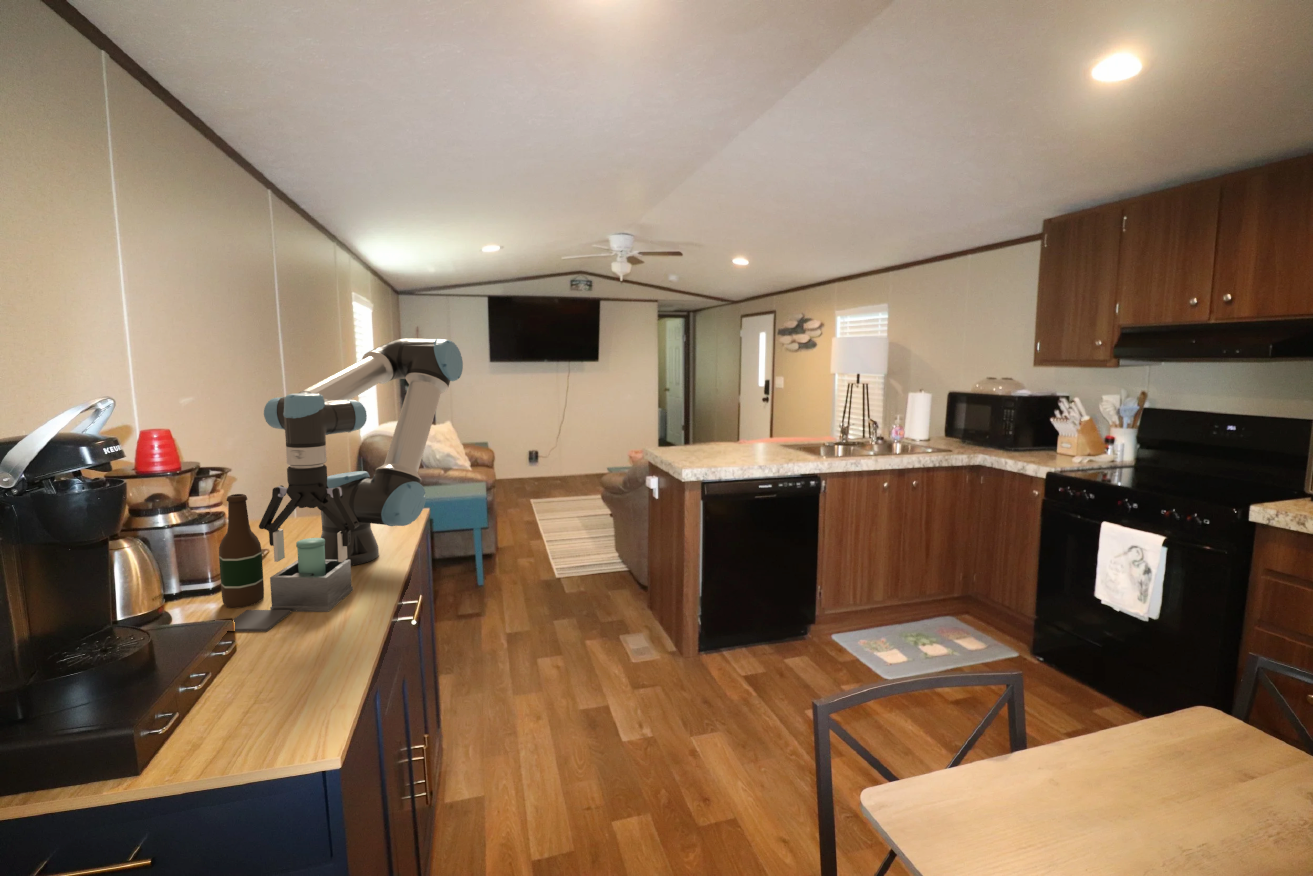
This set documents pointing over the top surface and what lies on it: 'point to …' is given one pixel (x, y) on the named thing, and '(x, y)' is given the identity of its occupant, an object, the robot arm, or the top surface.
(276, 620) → the pad
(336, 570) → the grey storage bin
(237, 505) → the beer bottle
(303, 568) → the green upright cylinder
